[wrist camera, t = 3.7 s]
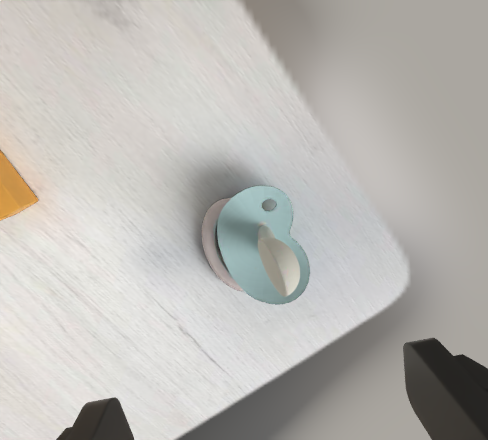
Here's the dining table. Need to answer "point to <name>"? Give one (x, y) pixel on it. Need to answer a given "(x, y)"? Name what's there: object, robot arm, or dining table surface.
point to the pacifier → (256, 245)
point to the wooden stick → (13, 190)
